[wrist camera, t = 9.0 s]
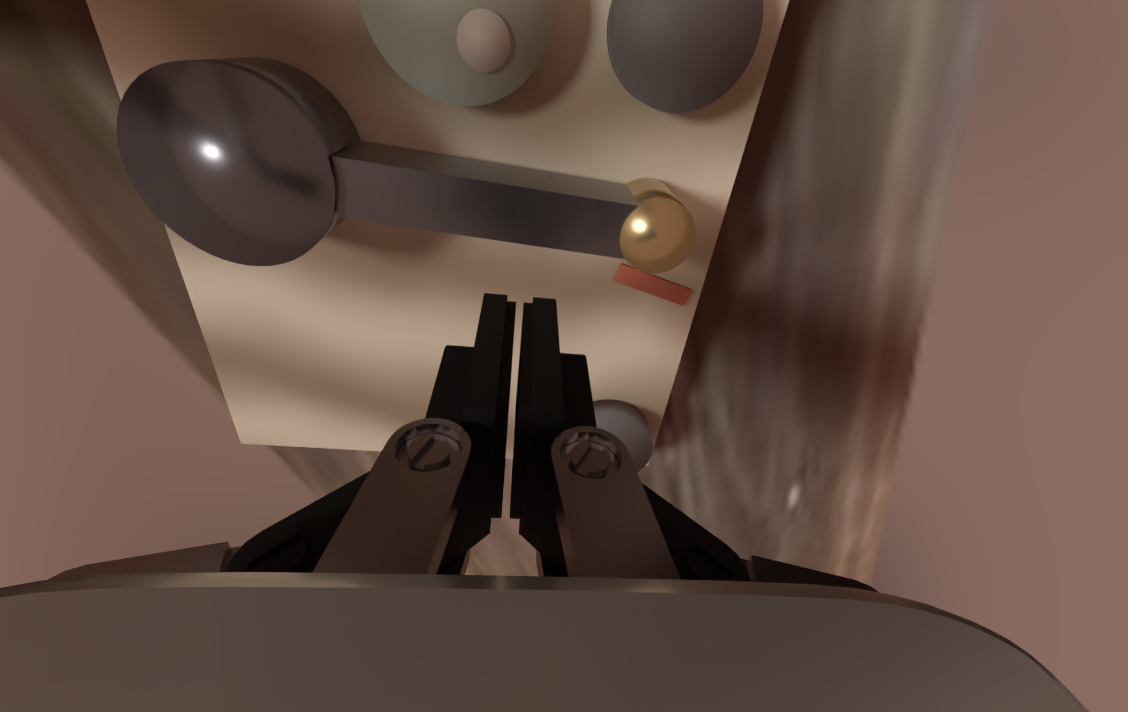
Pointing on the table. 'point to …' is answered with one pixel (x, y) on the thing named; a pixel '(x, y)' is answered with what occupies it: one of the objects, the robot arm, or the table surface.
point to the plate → (477, 131)
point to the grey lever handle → (352, 175)
